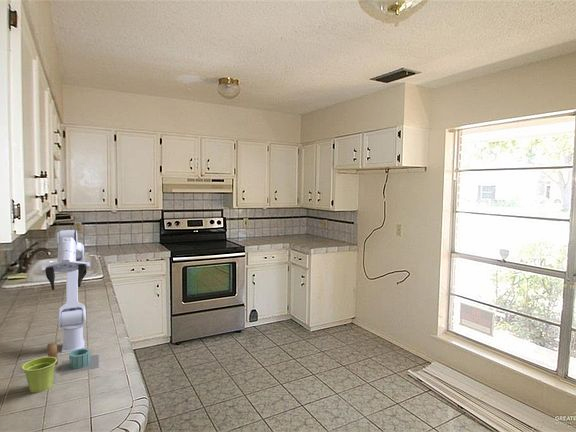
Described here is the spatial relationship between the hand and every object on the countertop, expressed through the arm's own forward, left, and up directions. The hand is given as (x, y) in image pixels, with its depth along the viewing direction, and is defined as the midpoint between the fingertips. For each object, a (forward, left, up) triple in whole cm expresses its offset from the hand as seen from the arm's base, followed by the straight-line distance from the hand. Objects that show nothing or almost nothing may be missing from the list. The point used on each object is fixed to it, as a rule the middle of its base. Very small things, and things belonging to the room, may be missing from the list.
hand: (66, 286), depth 124 cm
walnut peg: (-14, -6, -32) cm, 36 cm away
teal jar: (-9, +3, -32) cm, 33 cm away
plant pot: (+3, -8, -33) cm, 34 cm away
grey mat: (-9, +3, -32) cm, 34 cm away
